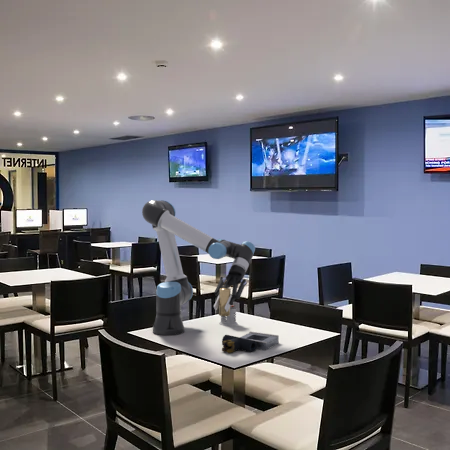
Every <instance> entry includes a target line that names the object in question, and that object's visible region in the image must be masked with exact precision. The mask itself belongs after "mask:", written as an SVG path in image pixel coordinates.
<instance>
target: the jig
mask: <svg viewBox="0 0 450 450" xmlns="http://www.w3.org/2000/svg"><path fill="white" fill-rule="evenodd" d="M240 338H245V339H249V340H254V341H256V343H257V348H256V350H260V351H261V350H262V351H267V350H269V349H271V348H273V347H274V346H275V345H277V344H279V335H278V334H271V333H263V332H257V331H249V332H248V333H246V334H244V335H242V336H240Z"/></svg>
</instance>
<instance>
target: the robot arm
mask: <svg viewBox="0 0 450 450" xmlns="http://www.w3.org/2000/svg"><path fill="white" fill-rule="evenodd" d="M141 211H142V212H141V214H142V218H143V219H144V220H145V221H146V222H147V223H148V224H151V227H152V229H153V231H155V232H156V234H157V240H158V244H159V250H160V253H161V257H162V262H163V266H164V271H165V275H166V278H165V279H164V282H161V283H159V284H158V285H157V286H156V291H155V292H156V293H155V294H156V316H155V320H154V322H153V326H152V333H153V334H156V335H160V336H175V335H180V334H181V335H182V333H184V332H185V326H184V323H183V320H182V319H183V317H182V314H181V313H182V312H181V306H182V305H185V304H187V303H188V302H189V301H190V300H191V299H192V297H193V295H194V294H193V293H194V289H193V285H192V284H191V282H189V280H188V276H187V275H185V274H184V271H183V267H182V262H181V258H180V253H179V250H178V245H177V241H176V236H177V237H178V238H180V239H182V240H184V241H185V242H187V243H189V244H190V245H193V246H194V247H196V248H197V249H200V250H202V251H203V252H206V254H208V255H209V256H210V257H211V258H212V259H214V260H220V259H223V258H230V259H233V261H232V264H231V266H230V268H229V271H228V273H227V275H226V276H225V277H223V276H220V277H219V281H218V284H217V286H216V288H215V290H214V291H213V293H214V294H215V295H214V296H215V299H214V302H215V303H214V304H213V308H214V310H215V311H217V310H219V295H220V288H229V289H230V288H231V286H232V290H231V294H230V295H231V296H232V297H229V299H228V301H227V303H226V306H225V310H226V312H228V310H229V308H230V306H231V305H233V304H234V302H235V300H240V298H241V297H242V294H243V291H244V289H245V287H246V286H247V284H248V281H247V280H246V279H245V278H244V277H245V275H246V273H247V271H248V268H249V266H250V264H251V261H252V259H253V257H254V253H255V251H256V246H255V244H254V243H252V241H249V240H246V241H242V243H241V244H240V243H236V242H232V241H230V240H229V241H228V240H226V239H221V238H217V239H215V238H214V237H212V236H210V235H208V234H207V233H205V232H203V231H202V230H199V229H197V228H196V227H194V226H192V225H191V224H189V223H187V222H185V221H183V220H182V219H180V218H178V217H176V208H175V206H174V205H173V204H172V203H171V202H170V201H167V200H155V199H153V200H149V201H147V202H146V203H145V204H144V205H143V207H142V210H141Z"/></svg>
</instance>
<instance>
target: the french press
mask: <svg viewBox="0 0 450 450" xmlns="http://www.w3.org/2000/svg"><path fill="white" fill-rule="evenodd" d="M231 295H232V294H230V297H232V296H231ZM236 318H237V307H236V304H234V303H233V305H231V306H230V316H220V322H218V324H219V325H220V326H225V327H226V326H227V327H230V326H231V327H232V326H238V322H237V319H236Z"/></svg>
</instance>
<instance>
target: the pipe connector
mask: <svg viewBox="0 0 450 450" xmlns="http://www.w3.org/2000/svg"><path fill="white" fill-rule="evenodd" d="M240 337H241V336H240ZM240 337H239V336H234V335H229V334H224V335H223V337H222V339H221V345H222V348H221V351H222V352H224V353H228V354H230V353H234V352H236V351H244V352H248V353H254V352H256V350H257V349H256V348H257V343H256V341H254V340H249V339H245V338H240Z"/></svg>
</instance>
